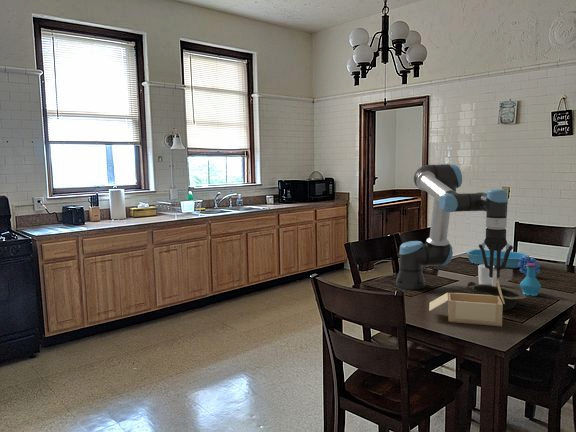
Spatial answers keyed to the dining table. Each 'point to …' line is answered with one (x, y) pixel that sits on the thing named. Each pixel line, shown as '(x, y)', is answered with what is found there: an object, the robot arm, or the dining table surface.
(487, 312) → the carton
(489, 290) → the stone bowl
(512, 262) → the casserole dish
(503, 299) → the flap
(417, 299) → the dining table surface
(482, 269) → the white cup
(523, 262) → the grapes
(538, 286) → the perfume bottle
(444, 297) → the flap
